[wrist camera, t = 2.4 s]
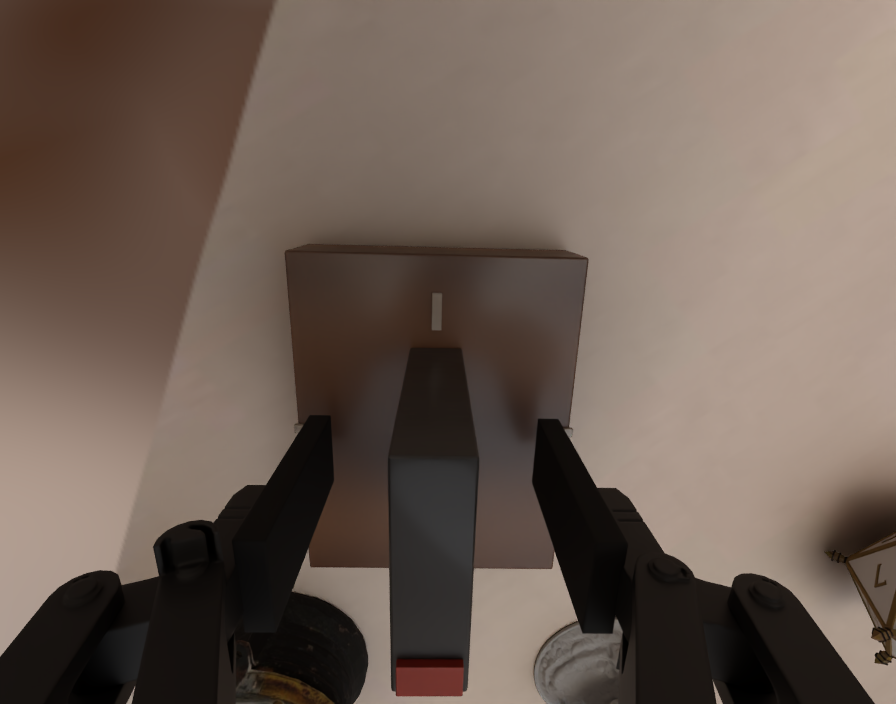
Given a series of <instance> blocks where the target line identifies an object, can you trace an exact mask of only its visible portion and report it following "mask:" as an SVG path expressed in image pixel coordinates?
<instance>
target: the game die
mask: <svg viewBox="0 0 896 704" xmlns="http://www.w3.org/2000/svg"><path fill="white" fill-rule="evenodd" d="M825 553H826V554H827V555H828V556H829V557H830V558H831V559H832V561H833V560H834V561H837V563H839V562H841V563H845V564H846V566H847V568H848V570H849V572H850V575H851V577H852V579H853V581H854V583H855V585H856V588H857V590H858V592H859V594H860V596H861V598H862V601H863V603H864V605H865V607H866V609H867V611H868V614H869V616H870V618H871V620H872V622H873V624H874V627H875V628H873V630H872V637H871V638H872V639H875V640H878V641H879V642H882V644H883V646H884V648H885V650H886V651H881V650H880V652H879V653H876V654H875V663H879V664H885V665H888V664H887V663H889V662H890V663H891V659H892V658H895V659H896V531H895V532H894V533H892V534H890V535H888V536H886V537H884V538H882V539H881V540H879V541H877V542H875V543H873V544H871V545H869V546H867V547H866V548H864V549H862V550H860V551H858V552H856V553H854V554H853V555H851V556H849V557H845V556H844V555H842V554H841V553H838V552H836V550H834V551H826V552H825Z"/></svg>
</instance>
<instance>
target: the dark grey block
mask: <svg viewBox="0 0 896 704" xmlns="http://www.w3.org/2000/svg"><path fill="white" fill-rule="evenodd" d="M479 460H480V458H479V452H478V445H477V439H476V433H475V427H474V420H473V414H472V408H471V402H470V395H469V389H468V383H467V377H466V370H465V364H464V358H463V351H462V349H459V348H410V351H409V356H408V361H407V366H406V370H405V375H404V380H403V385H402V390H401V395H400V400H399V404H398V409H397V414H396V419H395V424H394V429H393V433H392V438H391V443H390V448H389V453H388V515H389V576H390V638H391V688H392V691H396V696H462V695H463V692H465V691H466V690H467V688H468V669H469V650H470V631H471V612H472V593H473V574H474V555H475V536H476V517H477V498H478V479H479Z"/></svg>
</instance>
